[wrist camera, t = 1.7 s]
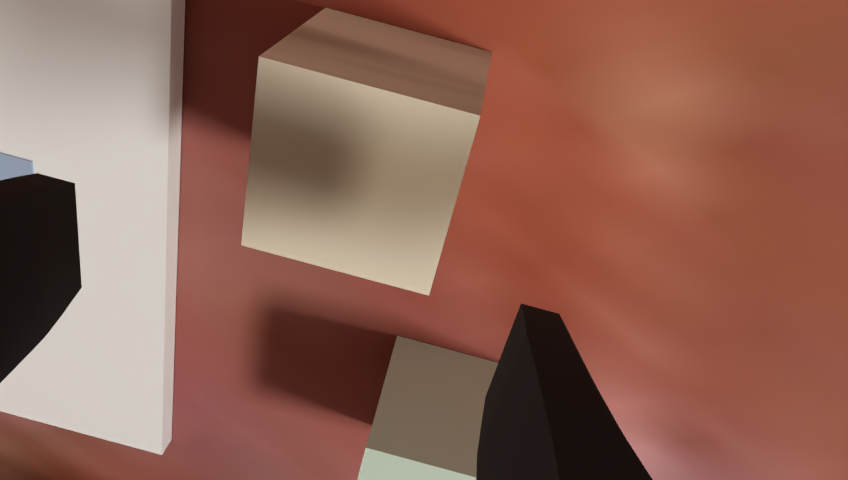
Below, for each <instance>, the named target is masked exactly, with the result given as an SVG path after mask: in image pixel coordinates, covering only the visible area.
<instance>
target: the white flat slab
mask: <svg viewBox="0 0 848 480" xmlns="http://www.w3.org/2000/svg"><path fill="white" fill-rule="evenodd" d="M184 28H185V0H0V180H4V179H9V178H13V177H18V176H24V175H30V174H36V173H39V174H42V175H46V176H50V177H54V178H57V179H61V180H65V181H68V182H72V183H75V192H76V207H77V223H78V238H79V254H80V269H81V285H82V288H81V289H80V290H79V292H78V293H77V295H76V296H75V297H74V299H73V300H72V302H71V303H70V305H69V306H68V307H67V309H66V310H65V312H64V313H63V314H62V316H61V317H60V318H59V320H58V321H57V322H56V323H55V325H54V326H53V327H52V329H51V330H50V331H49V332H48V334H47V335H46V336H45V338H44V339H43V340H42V341H41V342H40V343H39V344H38V345H37V346H36V347H35V348H34V349H33V350H32V351H31V352H30V353H29V354H28V355H27V356H26V357H25V358H24V359H23V360H22V361H21V362H20V363H19V365H18V366H17V367H16V368H15V369H14V370H13V371H12V372H11V373H10V374H9V375H8V376H7V377H6V378H5V379H4V380H3V381H2V382H1V383H0V411H2V412H6V413H9V414H13V415H17V416H20V417H24V418H28V419H31V420H35V421H39V422H42V423H46V424H50V425H53V426H57V427H61V428H64V429H68V430H72V431H76V432H79V433H83V434H87V435H90V436H94V437H98V438H101V439H105V440H109V441H112V442H116V443H120V444H123V445H127V446H131V447H134V448H138V449H142V450H146V451H149V452H153V453H157V454H160V455H162V454H163V452H164V451H165V449H166V448H167V446H168V444H169V443H170V441H171V437H172V406H173V374H174V343H175V311H176V280H177V248H178V217H179V185H180V154H181V122H182V91H183V59H184Z"/></svg>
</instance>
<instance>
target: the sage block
mask: <svg viewBox="0 0 848 480" xmlns="http://www.w3.org/2000/svg"><path fill="white" fill-rule="evenodd" d="M497 365H498V363H497V362H493V361H489V360H486V359H482V358H478V357H475V356H471V355H467V354H464V353H460V352H456V351H452V350H449V349H445V348H441V347H438V346H434V345H430V344H426V343H423V342H419V341H415V340H412V339H408V338H404V337H401V336H397V338H396V341H395V345H394V348H393V352H392V356H391V359H390V363H389V366H388V370H387V374H386V377H385V381H384V384H383V388H382V391H381V395H380V399H379V402H378V406H377V409H376V413H375V417H374V420H373V424H372V427H371V431H370V435H369V438H368V442H367V445H366V449H365V453H364V457H363V460H362V464H361V468H360V472H359V476H358V479H357V480H476V472H477V451H478V444H479V437H480V430H481V423H482V416H483V410H484V403H485V397H486V394H487V391H488V389H489V386H490V384H491V381H492V378H493V376H494V373H495V371H496V368H497Z"/></svg>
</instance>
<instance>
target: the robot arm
mask: <svg viewBox="0 0 848 480" xmlns="http://www.w3.org/2000/svg"><path fill="white" fill-rule="evenodd" d="M81 288H82V285H81V269H80V254H79V238H78V223H77V207H76V192H75V183H72V182H68V181H65V180H61V179H57V178H54V177H50V176H46V175H42V174H39V173H36V174H30V175H24V176H18V177H13V178H9V179H4V180H0V383H1V382H2V381H3V380H4V379H5V378H6V377H7V376H8V375H9V374H10V373H11V372H12V371H13V370H14V369H15V368H16V367H17V366H18V365H19V363H20V362H21V361H22V360H23V359H24V358H25V357H26V356H27V355H28V354H29V353H30V352H31V351H32V350H33V349H34V348H35V347H36V346H37V345H38V344H39V343H40V342H41V341H42V340H43V339H44V338H45V336H46V335H47V334H48V332H49V331H50V330H51V329H52V327H53V326H54V325H55V323H56V322H57V321H58V320H59V318H60V317H61V316H62V314H63V313H64V312H65V310H66V309H67V307H68V306H69V305H70V303H71V302H72V300H73V299H74V297H75V296H76V295H77V293H78V292H79V290H80V289H81ZM476 480H652V478H651V477H650V475H649V474H648V472H647V471H646V469H645V468H644V466H643V464H642V463H641V461H640V460H639V458H638V457H637V455H636V454H635V452H634V450H633V449H632V447H631V446H630V444H629V443H628V441H627V440H626V438H625V436H624V435H623V433H622V431H621V430H620V428H619V426H618V424H617V423H616V421H615V419H614V417H613V416H612V414H611V412H610V410H609V408H608V407H607V405H606V403H605V401H604V400H603V398H602V396H601V394H600V392H599V391H598V389H597V387H596V385H595V383H594V381H593V379H592V377H591V375H590V374H589V372H588V370H587V368H586V366H585V364H584V362H583V360H582V358H581V356H580V354H579V352H578V350H577V348H576V346H575V344H574V342H573V340H572V338H571V336H570V334H569V332H568V330H567V328H566V326H565V324H564V322H563V320H562V318H561V317H560V315H559V314H557V313H554V312H550V311H546V310H542V309H539V308H535V307H531V306H528V305H524V304H521V306H520V308H519V311H518V313H517V316H516V319H515V321H514V324H513V326H512V329H511V332H510V334H509V337H508V339H507V342H506V345H505V347H504V350H503V352H502V355H501V358H500V360H499V363H498V365H497V368H496V371H495V373H494V376H493V378H492V381H491V384H490V386H489V389H488V391H487V394H486V397H485V403H484V410H483V416H482V423H481V430H480V437H479V444H478V451H477V472H476Z"/></svg>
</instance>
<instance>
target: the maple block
mask: <svg viewBox="0 0 848 480" xmlns="http://www.w3.org/2000/svg"><path fill="white" fill-rule="evenodd" d="M491 56H492V52H490V51H486V50H482V49H479V48H475V47H471V46H467V45H464V44H460V43H456V42H452V41H449V40H445V39H441V38H438V37H434V36H430V35H426V34H423V33H419V32H415V31H411V30H408V29H404V28H400V27H396V26H393V25H389V24H385V23H382V22H378V21H374V20H370V19H367V18H363V17H359V16H355V15H352V14H348V13H344V12H340V11H337V10H333V9H329V8H324V9H323V10H322V11H320V12H319V13H317V14H316V15H315V16H313V17H312V18H311V19H309V20H308V21H307V22H305V23H304V24H302V25H301V26H300V27H298V28H297V29H296V30H294V31H293V32H291V33H290V34H289V35H287V36H286V37H285V38H283V39H282V40H280V41H279V42H278V43H276V44H275V45H274V46H272V47H271V48H270V49H268V50H267V51H265V52H264V53H263V54H261V55H260V56H259V59H258V69H257V80H256V91H255V102H254V113H253V124H252V135H251V145H250V156H249V167H248V178H247V189H246V200H245V211H244V221H243V232H242V243H241V245H242V246H246V247H250V248H254V249H257V250H261V251H265V252H268V253H272V254H276V255H280V256H283V257H287V258H291V259H294V260H298V261H302V262H306V263H309V264H313V265H317V266H320V267H324V268H328V269H332V270H335V271H339V272H343V273H347V274H350V275H354V276H358V277H361V278H365V279H369V280H373V281H376V282H380V283H384V284H387V285H391V286H395V287H399V288H402V289H406V290H410V291H413V292H417V293H421V294H425V295H428V296H429V293H430V290H431V286H432V283H433V279H434V276H435V272H436V269H437V265H438V262H439V258H440V255H441V251H442V248H443V244H444V241H445V237H446V234H447V231H448V227H449V224H450V220H451V217H452V213H453V210H454V206H455V203H456V199H457V196H458V192H459V189H460V185H461V182H462V178H463V175H464V171H465V168H466V164H467V161H468V157H469V154H470V150H471V147H472V143H473V140H474V136H475V133H476V129H477V126H478V122H479V119H480V115H481V110H482V104H483V99H484V94H485V88H486V83H487V78H488V72H489V67H490V62H491Z"/></svg>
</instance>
